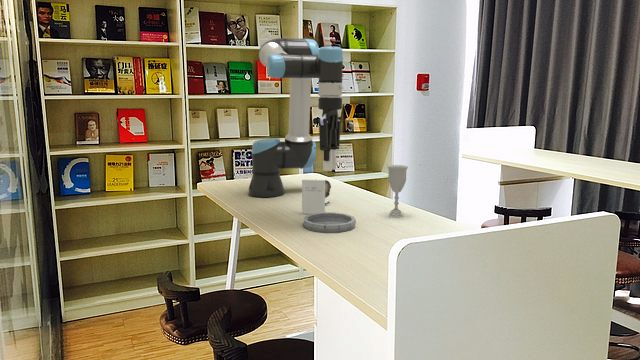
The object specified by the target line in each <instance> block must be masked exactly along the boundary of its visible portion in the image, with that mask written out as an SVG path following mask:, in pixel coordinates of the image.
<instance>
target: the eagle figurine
mask: <svg viewBox="0 0 640 360" xmlns="http://www.w3.org/2000/svg"><path fill="white" fill-rule="evenodd" d="M324 180H325V205H327V204H328V203H330V201H329V200H328V199H327V198H328V197H329V196H330V191H331V188H332V185H331V183H330V181H328V180H327V179H324Z"/></svg>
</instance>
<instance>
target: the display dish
mask: <svg viewBox="0 0 640 360" xmlns="http://www.w3.org/2000/svg"><path fill="white" fill-rule="evenodd" d="M302 220H303V227H304V228H305V229H306V230H309V231H311V232H316V233H326V234H329V233H330V234H334V233H335V234H337V233H344V232H349V231H352V230H354V229H355V228H356V224H357V220H356V217H355V216H353V215H350V214H347V213H342V212H341V213H340V212H325V213H315V214H306V215H305V216H303V219H302Z"/></svg>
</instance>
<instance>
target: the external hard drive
mask: <svg viewBox="0 0 640 360" xmlns="http://www.w3.org/2000/svg"><path fill="white" fill-rule="evenodd" d="M325 180H326V179H309V178H308V179H304V178H303V179H301V183H302V184H301V185H302V186H301V214H303V215H309V214H315V213H326V204H325V198H326V197H325Z"/></svg>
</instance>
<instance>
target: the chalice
mask: <svg viewBox="0 0 640 360" xmlns="http://www.w3.org/2000/svg"><path fill="white" fill-rule="evenodd" d="M408 168H409V166H408V165H405V164H404V165H402V164H391V165H390V164H389V165H387V170H388V179H387V180H388V183H389V186H390V188H391V190H392V192H393V193H394V197H393V198H394V202H393V203H394V208H393V209H392V210H390V213H389V215H388V217H389V218H393V219H400V218H403V217H404V215H403V212H402V211H401V209H399V207H398V206H399V199H400V197H399V194H400V193H401V192H402V190H403V189H404V187H405V184H406V182H407V170H408Z"/></svg>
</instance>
